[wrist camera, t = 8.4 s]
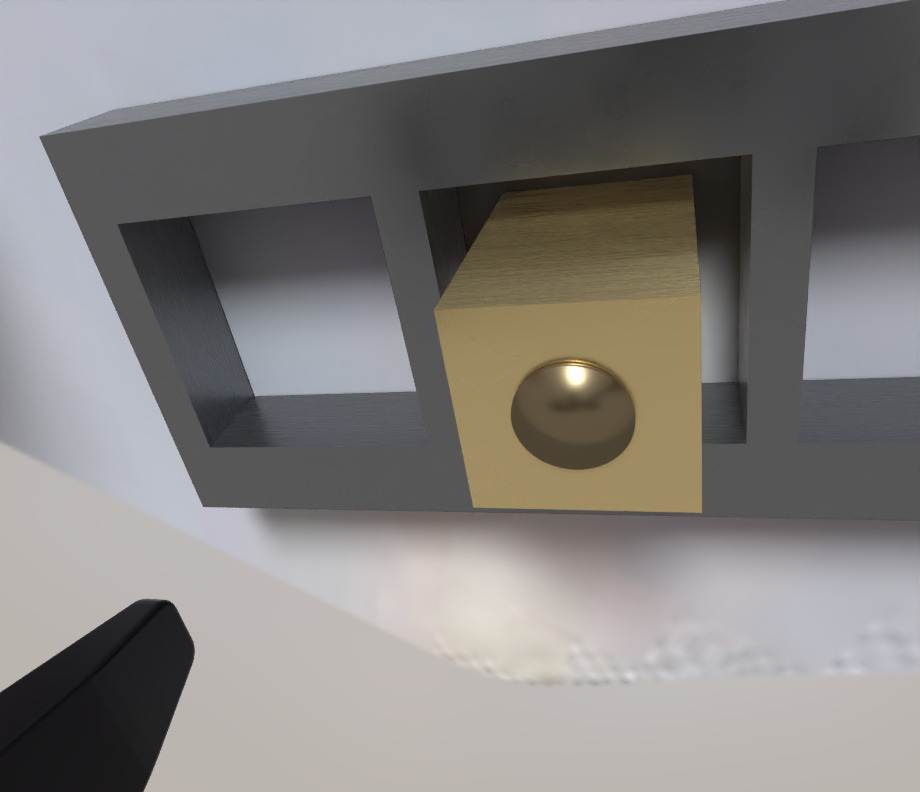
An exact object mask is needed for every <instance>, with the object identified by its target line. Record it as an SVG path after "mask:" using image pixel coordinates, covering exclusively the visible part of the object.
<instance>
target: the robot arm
mask: <svg viewBox="0 0 920 792" xmlns="http://www.w3.org/2000/svg"><path fill="white" fill-rule="evenodd" d="M194 654H195V648H194V642H193V640H192V638H191V636H190V634H189V632H188V630H187V628H186V626H185V624H184V622H183V620H182V618H181V616H180V614H179V612H178V610H177V608H176V607H175V605H174V604H173V603H171V602H170V601H167V600H157V599H142V600H138V601H136V602H134V603H133V604H131V605H130V606H129V607H127V608H125V609H124V610H123V611H121V612H119V613H118V614H116V615H115V616H113V617H112V618H110V619H109V620H107V621H106V622H104V623H103V624H101V625H100V626H98V627H97V628H96V629H94V630H93V631H91V632H90V633H88V634H87V635H85V636H84V637H82V638H81V639H79V640H78V641H76V642H75V643H73V644H72V645H70V646H69V647H67V648H66V649H64V650H63V651H61V652H60V653H58V654H57V655H55V656H54V657H52V658H51V659H49V660H48V661H46V662H45V663H43V664H42V665H40V666H39V667H37V668H36V669H34V670H33V671H31V672H30V673H28V674H27V675H25V676H24V677H22V678H21V679H19V680H18V681H16V682H15V683H14V684H12V685H10V686H9V687H8V688H6V689H5V690H3V691H2V692H0V792H144V789H145V787H146V785H147V783H148V780H149V778H150V776H151V773H152V771H153V768H154V766H155V763H156V761H157V758H158V756H159V753H160V750H161V747H162V745H163V742H164V739H165V737H166V734H167V731H168V729H169V726H170V723H171V720H172V718H173V715H174V712H175V710H176V707H177V704H178V701H179V698H180V696H181V693H182V690H183V688H184V685H185V682H186V680H187V677H188V674H189V671H190V669H191V666H192V663H193V660H194Z"/></svg>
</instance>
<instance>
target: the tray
mask: <svg viewBox="0 0 920 792" xmlns="http://www.w3.org/2000/svg"><path fill="white" fill-rule="evenodd" d="M912 136H920V0H786V1H779V2H773V3H767V4H761V5H755V6H749V7H743V8H737V9H730V10H724V11H718V12H712V13H706V14H700V15H694V16H687V17H681V18H675V19H669V20H663V21H657V22H651V23H645V24H638V25H632V26H626V27H620V28H614V29H608V30H602V31H595V32H589V33H583V34H577V35H571V36H565V37H559V38H553V39H546V40H540V41H534V42H528V43H522V44H516V45H510V46H504V47H497V48H491V49H485V50H479V51H473V52H467V53H461V54H454V55H448V56H442V57H436V58H430V59H424V60H418V61H412V62H405V63H399V64H393V65H387V66H381V67H375V68H369V69H363V70H356V71H350V72H344V73H338V74H332V75H326V76H320V77H313V78H307V79H301V80H295V81H289V82H283V83H277V84H271V85H264V86H258V87H252V88H246V89H240V90H234V91H228V92H221V93H215V94H209V95H203V96H197V97H191V98H185V99H179V100H172V101H166V102H160V103H154V104H148V105H142V106H136V107H130V108H123V109H117V110H112V111H109V112H106V113H103V114H100V115H98V116H95V117H92V118H89V119H87V120H84V121H81V122H78V123H75V124H73V125H70V126H67V127H64V128H62V129H59V130H56V131H53V132H50V133H48V134H45V135H42V136H39V137H40V139H41V142H42V144H43V146H44V148H45V151H46V153H47V155H48V157H49V160H50V162H51V164H52V166H53V169H54V171H55V173H56V175H57V178H58V180H59V182H60V184H61V187H62V189H63V191H64V193H65V196H66V198H67V200H68V203H69V205H70V207H71V209H72V212H73V214H74V216H75V218H76V221H77V223H78V225H79V227H80V230H81V232H82V234H83V236H84V239H85V241H86V243H87V245H88V248H89V250H90V252H91V254H92V257H93V259H94V261H95V263H96V266H97V268H98V270H99V273H100V275H101V277H102V279H103V282H104V284H105V286H106V288H107V291H108V293H109V295H110V297H111V300H112V302H113V304H114V306H115V309H116V311H117V313H118V315H119V318H120V320H121V322H122V324H123V327H124V329H125V331H126V333H127V336H128V338H129V340H130V343H131V345H132V347H133V349H134V352H135V354H136V356H137V358H138V361H139V363H140V365H141V367H142V370H143V372H144V374H145V376H146V379H147V381H148V383H149V385H150V388H151V390H152V392H153V394H154V397H155V399H156V401H157V404H158V406H159V408H160V410H161V413H162V415H163V417H164V419H165V422H166V424H167V426H168V428H169V431H170V433H171V435H172V437H173V440H174V442H175V444H176V446H177V449H178V451H179V453H180V455H181V458H182V460H183V462H184V464H185V467H186V469H187V471H188V474H189V476H190V478H191V480H192V483H193V485H194V487H195V489H196V492H197V494H198V496H199V498H200V501H201V503H202V505H203V507H234V508H286V509H339V510H391V511H444V512H496V513H549V514H602V515H654V516H707V517H759V518H812V519H864V520H917V521H920V377H902V378H868V379H834V380H802V379H803V363H804V348H805V332H806V316H807V301H808V285H809V269H810V254H811V238H812V222H813V206H814V191H815V175H816V159H817V147H821V146H830V145H839V144H848V143H857V142H866V141H875V140H884V139H893V138H903V137H912ZM739 155H741V197H740V269H739V341H738V382H731V383H701V391H702V513H688V512H645V511H601V510H558V509H515V508H473V503H472V498H471V493H470V488H469V483H468V478H467V473H466V468H465V463H464V458H463V453H462V448H461V443H460V438H459V433H458V428H457V423H456V418H455V413H454V409H453V404H452V399H451V394H450V389H449V384H448V379H447V374H446V369H445V364H444V359H443V354H442V349H441V344H440V339H439V334H438V329H437V324H436V319H435V314H434V309H435V307H436V306H437V304H438V302H439V300H440V299H441V297H442V295H443V294H444V292H445V290H446V289H447V287H448V285H449V284H450V282H451V280H452V279H453V277H454V275H455V274H456V272H457V270H458V268H459V267H460V265H461V263H462V262H463V260H464V258H465V257H466V255H467V249H466V243H465V237H464V232H463V226H462V221H461V215H460V209H459V204H458V198H457V192H456V187H458V186H468V185H477V184H486V183H495V182H504V181H513V180H522V179H531V178H540V177H549V176H558V175H567V174H576V173H585V172H594V171H603V170H613V169H622V168H631V167H640V166H649V165H658V164H667V163H676V162H685V161H694V160H703V159H712V158H721V157H730V156H739ZM368 196H371V200H372V205H373V209H374V213H375V217H376V222H377V226H378V230H379V234H380V238H381V243H382V247H383V251H384V255H385V260H386V264H387V268H388V272H389V276H390V281H391V285H392V289H393V293H394V298H395V302H396V306H397V310H398V315H399V319H400V323H401V327H402V331H403V336H404V340H405V344H406V348H407V353H408V357H409V361H410V365H411V370H412V374H413V378H414V382H415V386H416V391H417V392H389V393H355V394H321V395H286V396H254V395H253V393H252V390H251V387H250V384H249V382H248V379H247V376H246V373H245V371H244V368H243V365H242V362H241V360H240V357H239V354H238V351H237V349H236V346H235V343H234V341H233V338H232V335H231V332H230V330H229V327H228V324H227V321H226V319H225V316H224V313H223V310H222V308H221V305H220V302H219V299H218V297H217V294H216V291H215V288H214V286H213V283H212V280H211V277H210V275H209V272H208V269H207V267H206V264H205V261H204V258H203V256H202V253H201V250H200V247H199V245H198V242H197V239H196V236H195V234H194V231H193V228H192V225H191V223H190V220H189V217H188V216H196V215H205V214H214V213H223V212H232V211H241V210H250V209H259V208H268V207H277V206H286V205H295V204H304V203H313V202H323V201H332V200H341V199H350V198H359V197H368Z"/></svg>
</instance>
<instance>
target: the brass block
mask: <svg viewBox="0 0 920 792" xmlns="http://www.w3.org/2000/svg"><path fill="white" fill-rule="evenodd" d="M434 314H435V319H436V324H437V329H438V334H439V339H440V344H441V349H442V354H443V359H444V364H445V369H446V374H447V379H448V384H449V389H450V394H451V399H452V404H453V409H454V413H455V418H456V423H457V428H458V433H459V438H460V443H461V448H462V453H463V458H464V463H465V468H466V473H467V478H468V483H469V488H470V493H471V498H472V503H473V508H515V509H558V510H601V511H645V512H688V513H702V391H701V288H700V275H699V262H698V249H697V236H696V223H695V210H694V197H693V184H692V175H682V176H672V177H662V178H652V179H641V180H631V181H621V182H611V183H600V184H590V185H580V186H569V187H559V188H549V189H539V190H528V191H518V192H508V193H503V194H502V196H501V198H500V199H499V201H498V203H497V204H496V206H495V208H494V209H493V211H492V213H491V214H490V216H489V218H488V220H487V221H486V223H485V225H484V226H483V228H482V230H481V231H480V233H479V235H478V236H477V238H476V240H475V241H474V243H473V245H472V247H471V248H470V250H469V252H468V253H467V255H466V257H465V258H464V260H463V262H462V263H461V265H460V267H459V268H458V270H457V272H456V274H455V275H454V277H453V279H452V280H451V282H450V284H449V285H448V287H447V289H446V290H445V292H444V294H443V295H442V297H441V299H440V300H439V302H438V304H437V306H436V307H435V309H434Z"/></svg>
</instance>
